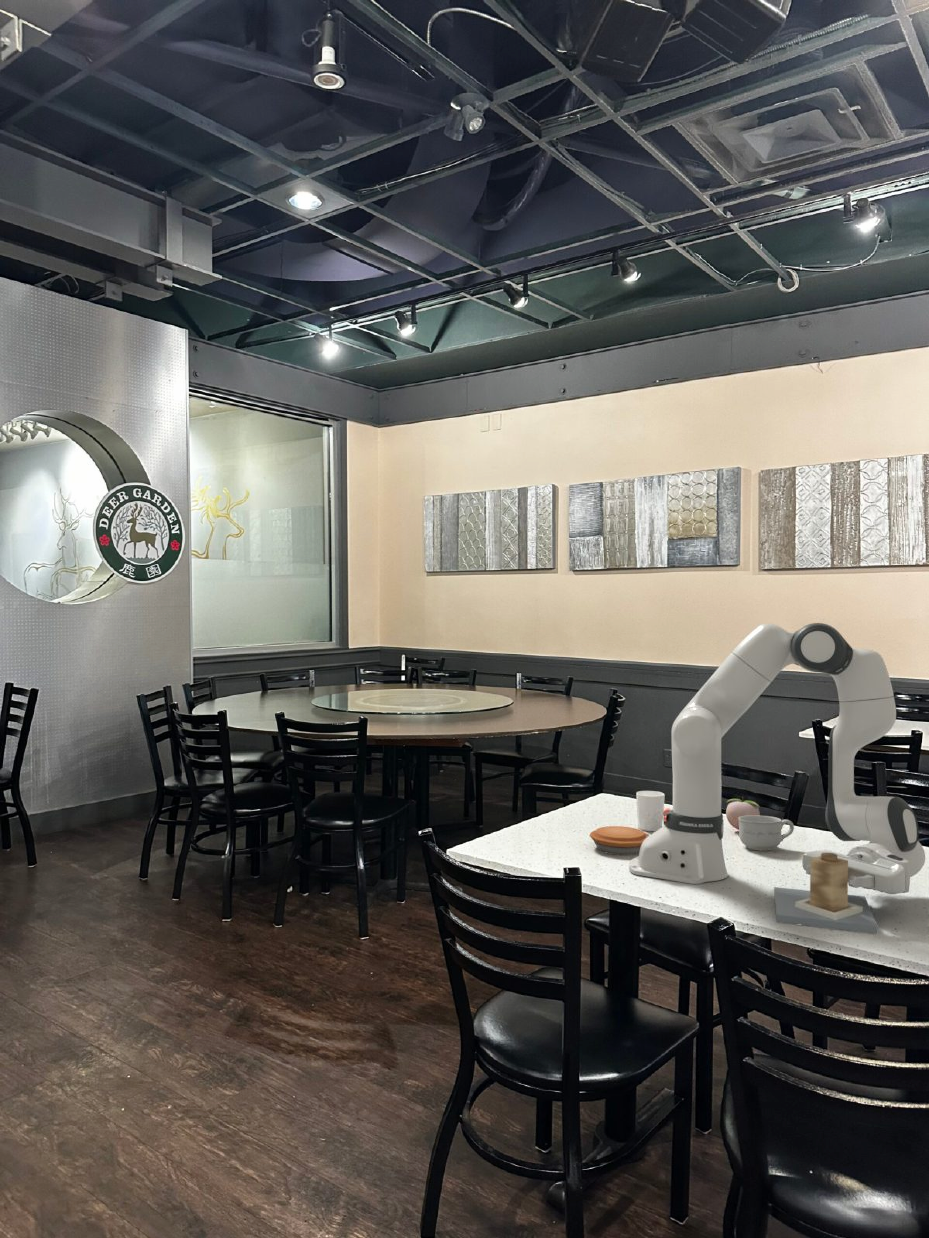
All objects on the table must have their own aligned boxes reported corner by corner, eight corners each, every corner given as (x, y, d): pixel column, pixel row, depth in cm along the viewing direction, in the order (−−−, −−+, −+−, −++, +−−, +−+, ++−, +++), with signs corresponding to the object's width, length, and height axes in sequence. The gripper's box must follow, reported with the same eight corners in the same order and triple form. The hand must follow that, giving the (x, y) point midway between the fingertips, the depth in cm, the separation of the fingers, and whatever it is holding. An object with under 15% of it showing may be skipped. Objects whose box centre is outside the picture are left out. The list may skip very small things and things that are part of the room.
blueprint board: (776, 922, 167) (776, 914, 167) (774, 893, 185) (774, 886, 185) (877, 933, 162) (877, 925, 162) (864, 903, 179) (865, 896, 179)
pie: (577, 848, 221) (577, 829, 221) (612, 838, 231) (612, 820, 231) (627, 861, 210) (627, 841, 210) (661, 849, 220) (662, 830, 220)
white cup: (644, 823, 248) (644, 789, 248) (669, 828, 243) (669, 793, 243) (631, 828, 242) (631, 793, 242) (656, 833, 237) (656, 797, 237)
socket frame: (795, 906, 172) (795, 901, 172) (821, 899, 177) (821, 894, 177) (835, 920, 165) (835, 914, 165) (862, 911, 170) (862, 906, 170)
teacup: (739, 852, 219) (740, 820, 219) (736, 841, 229) (736, 811, 229) (797, 856, 215) (797, 824, 215) (791, 845, 226) (791, 815, 226)
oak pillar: (809, 907, 172) (810, 853, 172) (824, 903, 174) (825, 849, 174) (832, 915, 167) (833, 859, 168) (847, 910, 170) (848, 855, 170)
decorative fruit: (723, 833, 238) (723, 797, 238) (727, 827, 245) (727, 792, 245) (758, 837, 234) (758, 801, 234) (761, 830, 241) (761, 795, 241)
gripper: (824, 840, 187) (785, 849, 180) (917, 862, 170) (877, 873, 163) (824, 868, 187) (785, 879, 180) (916, 894, 170) (877, 906, 163)
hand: (829, 876), depth 171 cm, fingers open, 8 cm apart
